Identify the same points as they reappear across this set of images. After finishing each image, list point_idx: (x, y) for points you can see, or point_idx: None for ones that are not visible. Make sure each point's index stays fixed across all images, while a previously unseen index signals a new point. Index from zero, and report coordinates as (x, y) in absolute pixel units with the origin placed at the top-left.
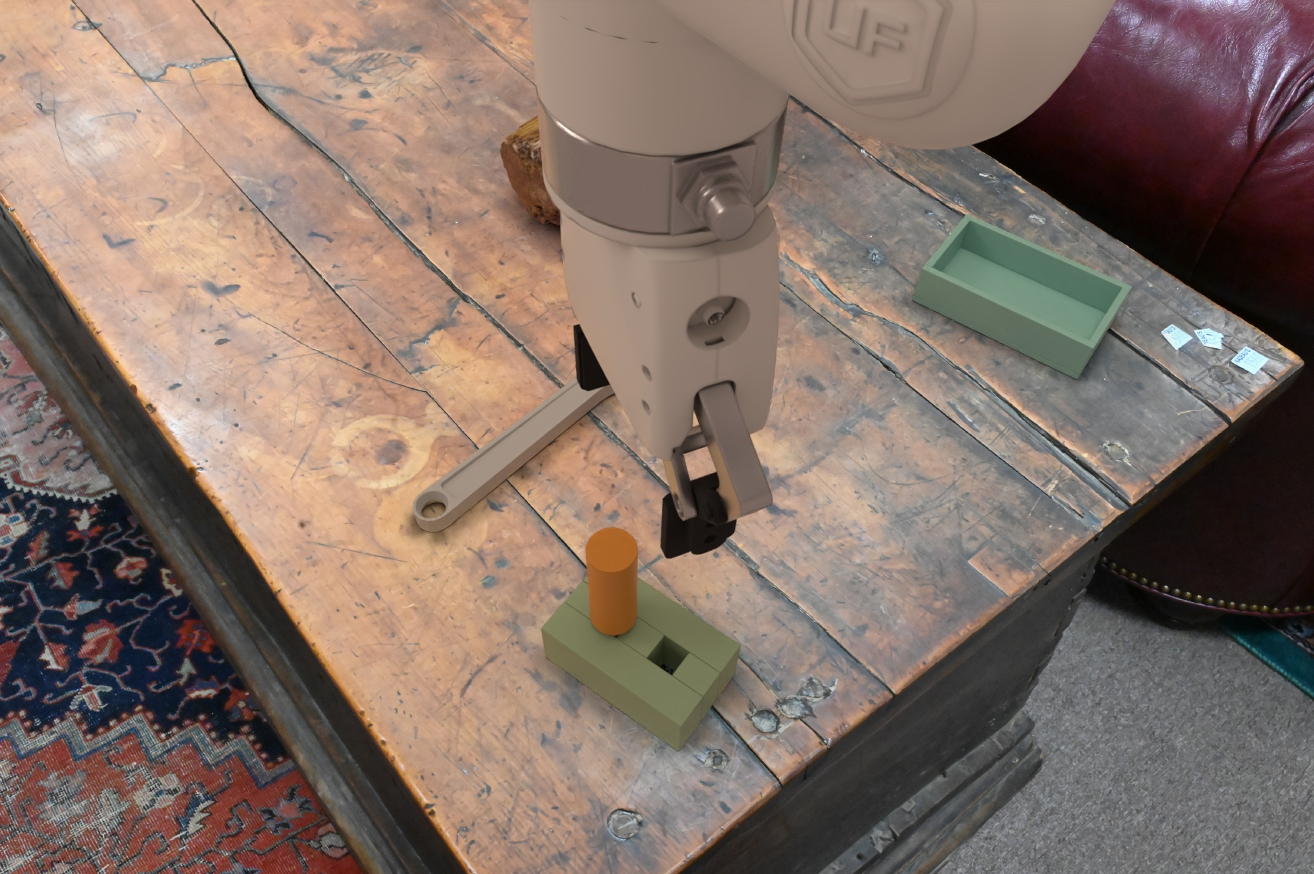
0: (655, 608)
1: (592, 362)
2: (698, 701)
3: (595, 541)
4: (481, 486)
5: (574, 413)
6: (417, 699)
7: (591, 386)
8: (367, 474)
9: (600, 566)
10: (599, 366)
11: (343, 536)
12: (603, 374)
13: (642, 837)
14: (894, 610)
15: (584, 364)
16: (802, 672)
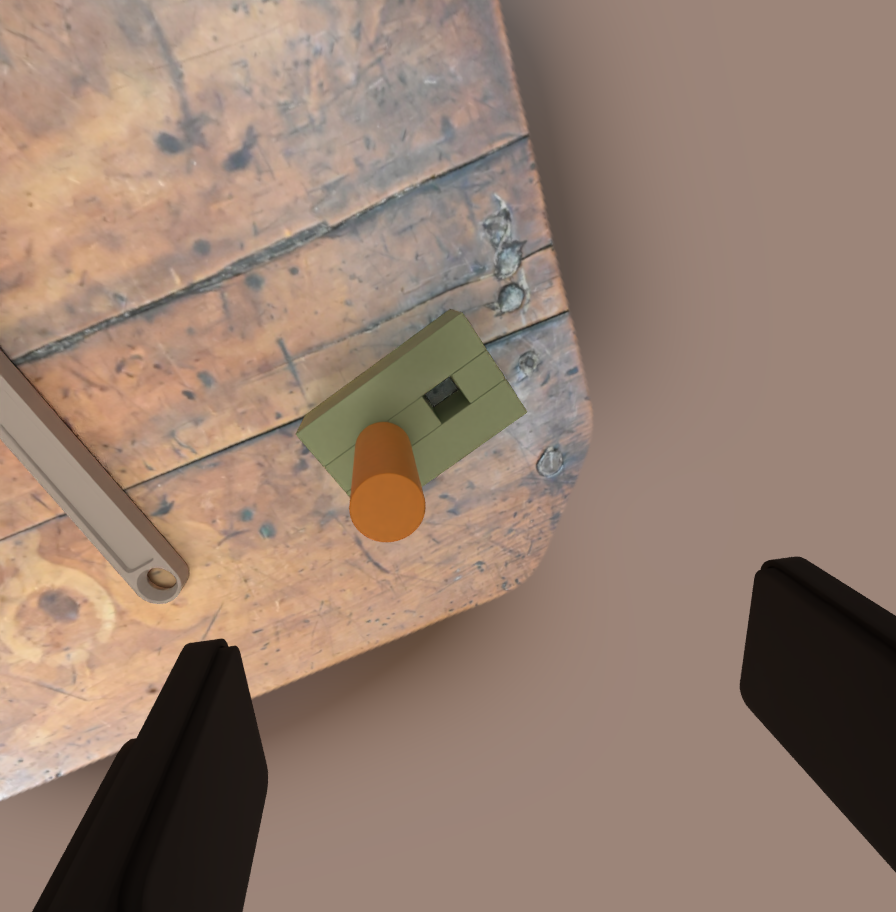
0: (385, 396)
1: (239, 878)
2: (508, 385)
3: (368, 526)
4: (138, 529)
5: (20, 391)
6: (379, 607)
7: (262, 777)
8: (91, 631)
9: (410, 528)
10: (241, 832)
11: (176, 656)
12: (247, 780)
13: (567, 451)
14: (436, 65)
15: (243, 897)
16: (474, 231)
